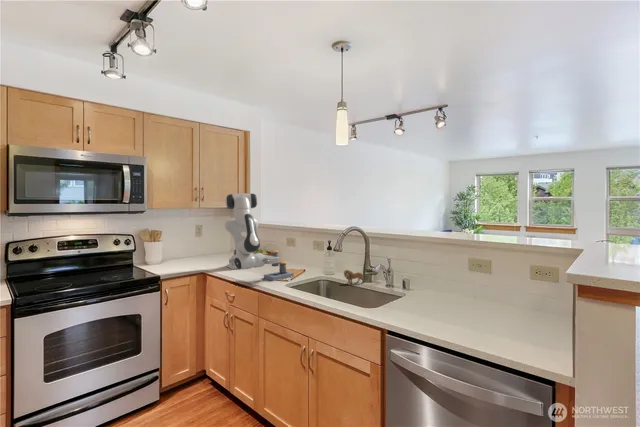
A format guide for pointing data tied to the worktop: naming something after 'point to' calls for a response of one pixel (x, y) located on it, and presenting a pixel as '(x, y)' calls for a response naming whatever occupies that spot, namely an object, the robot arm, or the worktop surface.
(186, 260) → the worktop surface
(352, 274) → the lion figurine
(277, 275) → the housing
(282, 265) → the seated jaw
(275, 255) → the jaw peg
